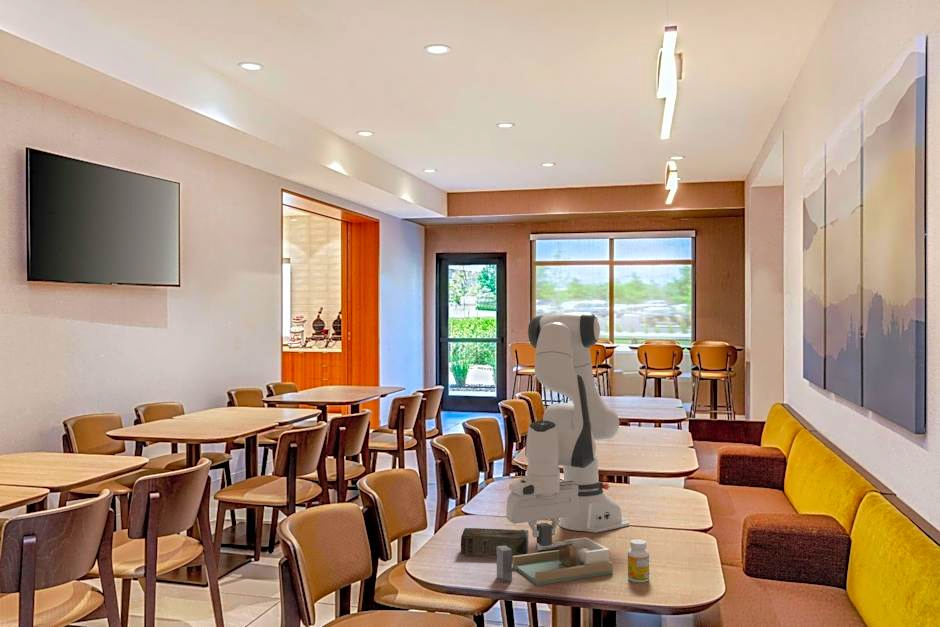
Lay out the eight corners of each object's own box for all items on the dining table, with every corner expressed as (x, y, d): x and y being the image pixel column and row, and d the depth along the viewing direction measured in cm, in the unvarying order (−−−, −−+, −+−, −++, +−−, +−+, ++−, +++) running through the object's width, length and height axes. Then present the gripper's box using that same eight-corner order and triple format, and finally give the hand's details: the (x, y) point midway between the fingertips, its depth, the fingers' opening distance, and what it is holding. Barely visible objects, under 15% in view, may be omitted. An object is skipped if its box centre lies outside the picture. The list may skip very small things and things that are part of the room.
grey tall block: (505, 575, 202) (505, 545, 202) (512, 580, 198) (511, 549, 198) (496, 577, 201) (496, 546, 201) (503, 582, 197) (502, 550, 197)
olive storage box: (527, 559, 216) (527, 535, 216) (460, 557, 218) (459, 534, 218) (528, 550, 224) (528, 527, 224) (463, 548, 226) (463, 526, 226)
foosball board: (584, 556, 217) (583, 535, 217) (612, 573, 203) (612, 551, 203) (512, 567, 209) (512, 545, 209) (537, 585, 195) (537, 561, 195)
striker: (565, 560, 209) (565, 518, 209) (576, 566, 204) (576, 524, 204) (532, 564, 206) (532, 522, 206) (542, 571, 200) (542, 528, 200)
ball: (578, 544, 210) (572, 558, 209) (585, 548, 206) (579, 562, 205) (589, 549, 211) (583, 563, 210) (597, 553, 207) (591, 567, 207)
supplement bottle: (625, 576, 201) (625, 538, 201) (645, 575, 201) (645, 538, 201) (631, 583, 196) (631, 545, 195) (652, 582, 196) (651, 544, 196)
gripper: (572, 477, 210) (572, 528, 211) (503, 484, 203) (504, 537, 203) (583, 482, 204) (584, 534, 205) (513, 490, 197) (514, 543, 197)
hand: (543, 535), depth 204 cm, fingers closed on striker, 3 cm apart
